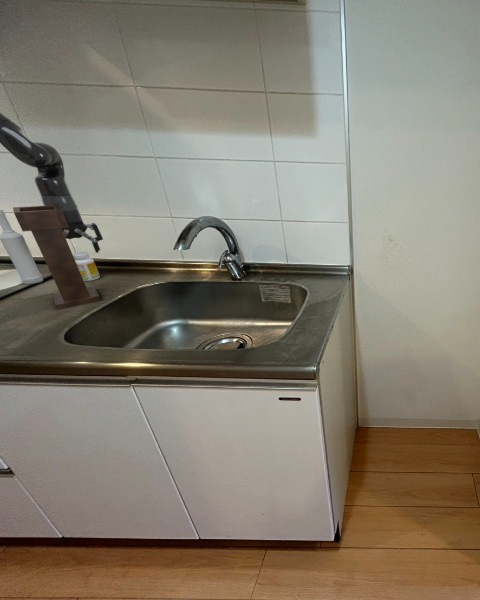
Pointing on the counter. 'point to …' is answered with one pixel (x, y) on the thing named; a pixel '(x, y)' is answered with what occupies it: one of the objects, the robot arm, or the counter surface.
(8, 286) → the counter surface
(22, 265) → the bottle
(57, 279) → the holder
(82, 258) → the supplement bottle
